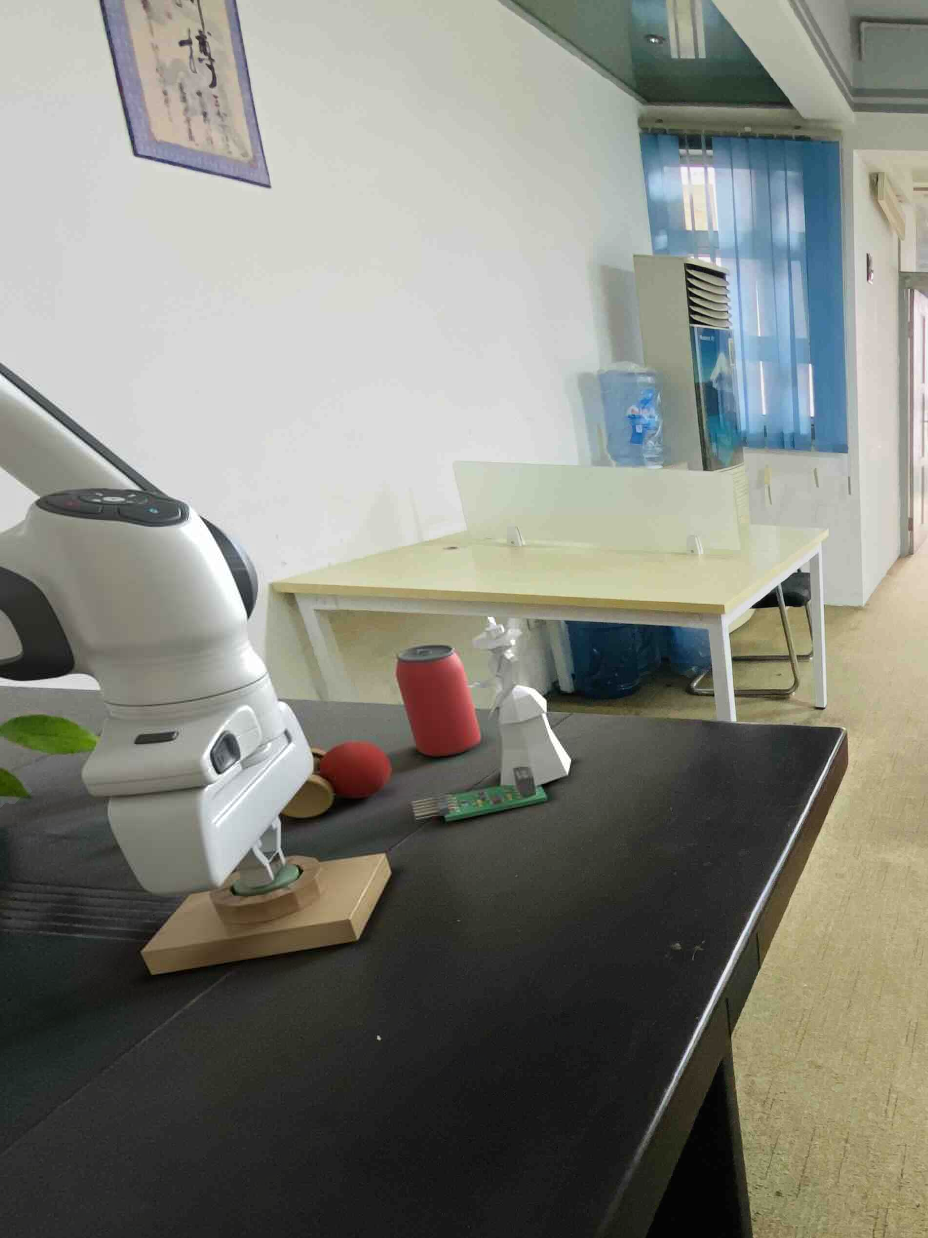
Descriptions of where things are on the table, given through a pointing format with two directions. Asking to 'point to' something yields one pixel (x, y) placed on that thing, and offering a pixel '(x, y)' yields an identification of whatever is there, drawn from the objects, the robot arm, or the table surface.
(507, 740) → the figurine
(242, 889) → the button
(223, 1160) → the table surface
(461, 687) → the beer can
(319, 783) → the kendama
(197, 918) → the button block
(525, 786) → the circuit board
